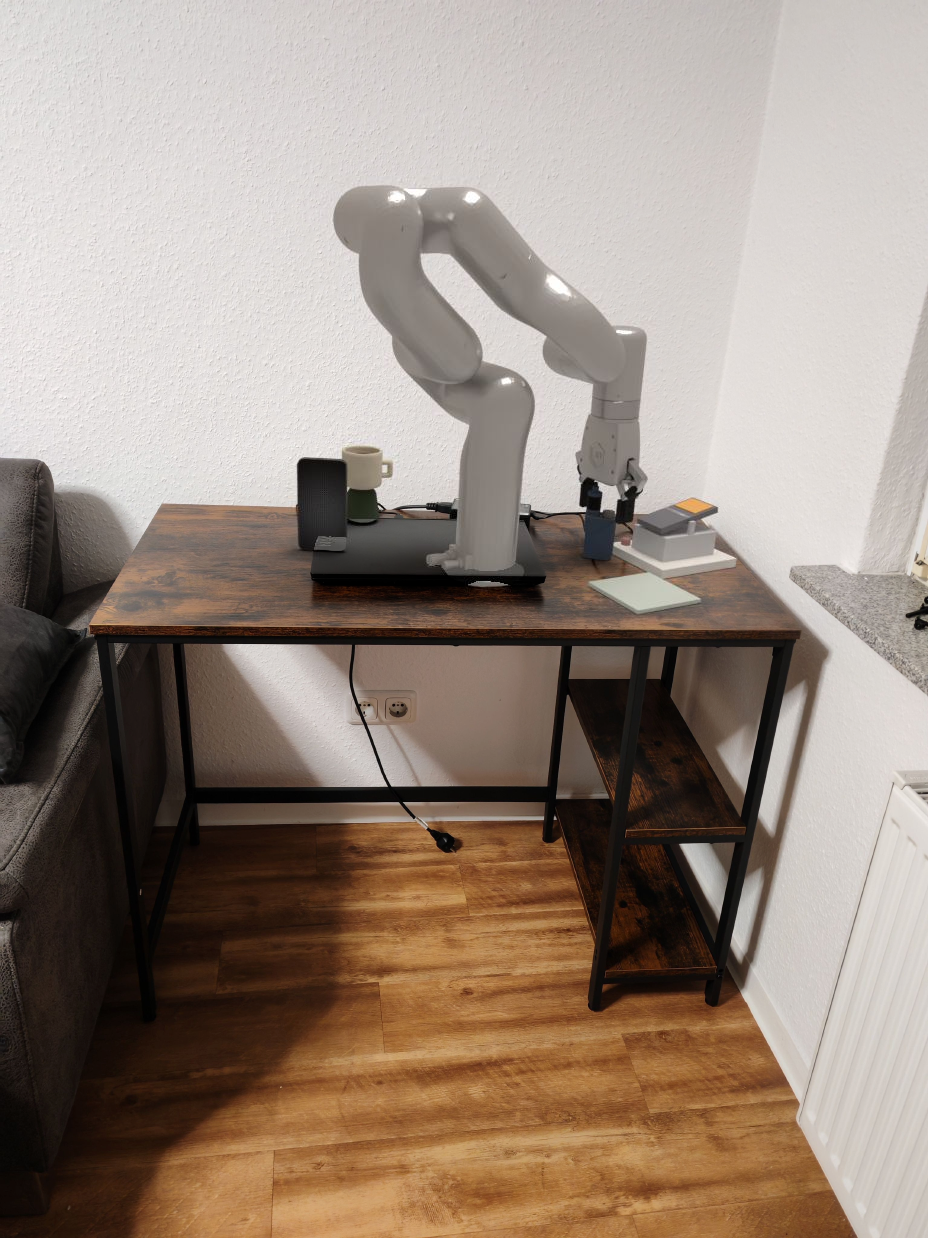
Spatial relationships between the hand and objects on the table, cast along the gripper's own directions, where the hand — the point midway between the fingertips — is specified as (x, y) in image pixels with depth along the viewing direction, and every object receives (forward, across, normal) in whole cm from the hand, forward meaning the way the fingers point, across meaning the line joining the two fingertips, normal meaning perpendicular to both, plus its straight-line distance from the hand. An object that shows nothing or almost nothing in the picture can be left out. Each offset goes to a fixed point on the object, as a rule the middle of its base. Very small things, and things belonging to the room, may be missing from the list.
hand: (605, 514), depth 148 cm
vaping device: (+8, 0, -1) cm, 8 cm away
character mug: (+7, -31, -30) cm, 44 cm away
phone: (+6, -19, -42) cm, 47 cm away
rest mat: (+7, +16, -4) cm, 18 cm away
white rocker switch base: (+8, +5, +11) cm, 14 cm away
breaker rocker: (0, +5, +11) cm, 12 cm away
